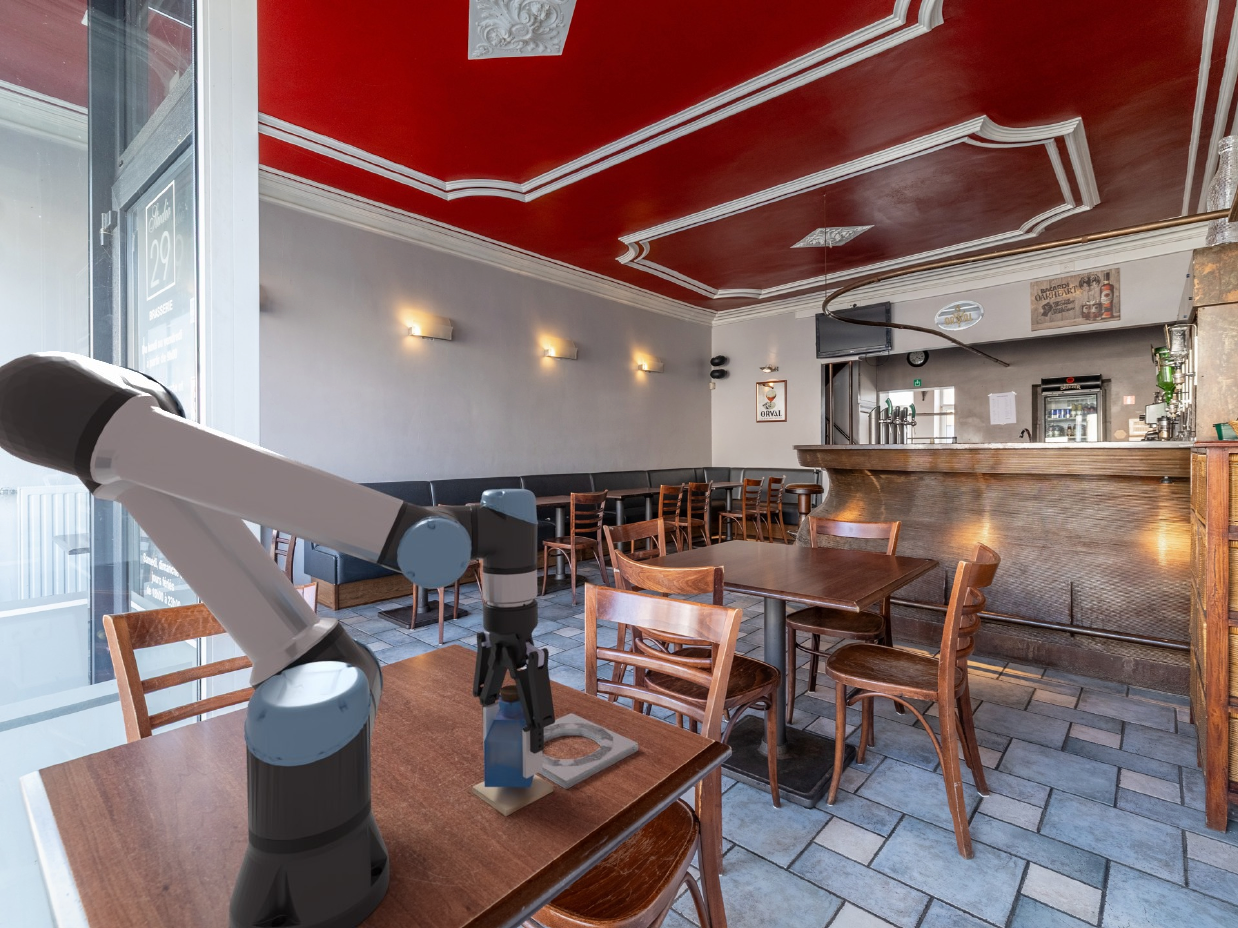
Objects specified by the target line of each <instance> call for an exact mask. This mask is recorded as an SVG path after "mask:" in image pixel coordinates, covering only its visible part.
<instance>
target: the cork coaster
mask: <svg viewBox="0 0 1238 928" xmlns="http://www.w3.org/2000/svg"><path fill="white" fill-rule="evenodd" d="M471 789H472V790H471V791H472V794H474V795H475V796H477V797H478V798H480V799H481V800H483V802H485V803H486V804H488V805H489V806H490V807H492V808H494V809H495V810H497V811H498V812H499V813H501V814H502V815H503V816H505V817H508V816H509V815H511V814H513V813H514V812H517V811H518V810H520V809H523V808H524V807H526V806H528V805H531V804H532V803H534V802H535V801H538V800H539V799H542V798H543V797H545V796H547V795H549V794H550V793H553V792H554V785H553V784H552V783H550V782H549V781H547V780H545V779H543V778H542V777H540V776H539V775H537V774H535V775H534V777H533V780H532V784H531V787H485V781H482V782H479V783H477V784H475V785H473V786H472V788H471Z"/></svg>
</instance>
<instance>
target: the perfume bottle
mask: <svg viewBox="0 0 1238 928" xmlns="http://www.w3.org/2000/svg"><path fill="white" fill-rule="evenodd" d="M500 695H501V697H499V700H498V702H499V707H500V709H499V711H498V713H497V715H496V717H495V719H494V721H493V723H492V725H491V727H490V729H489V732H488V734H487V736H486V738H485V741H484V748H483V754H484V755H483V756H484V757H483V761H484V763H483V766H484V767H483V768H484V774H483V775H484V776H483V777H484V781H485V787H531V784H532V780H533V777H534V775H533V776H530V777H528V778H525V777H523V730H522V728H524V727H526V726H527V725H526V721H525V717H524V713H523V710H522V706H521V702H520V698H519V695H518V691H517V687H516V684H510V685H505V686H502V688H501V689H500ZM533 719H534V717H533Z"/></svg>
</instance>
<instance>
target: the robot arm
mask: <svg viewBox="0 0 1238 928" xmlns="http://www.w3.org/2000/svg"><path fill="white" fill-rule="evenodd" d="M0 449H2V450H3V451H6V452H7V453H8V454H10V455H11V456H13V457H15V458H18V459H20V460H22V461H24V462H28V463H30V464H33V465H36V466H40V467H44V468H48V469H52V470H55V471H59V472H62V473H66V474H69V475H71V476H76V477H77V478H78V479H79V480H80V482H82V484H83V485H84V487H86V489H87V490H88V492H90V493H91V495H92V496H93V497H94V498H95V499H98V500H99V499H100V500H106V501H112V502H116V503H119V504H121V505H122V506H123V507H124V509H125V510H126V511H127V513H129V515H130V516H131V517H132V519H134V521H135V522H136V523H137V525H138V526H139V527H140V528H141V529H142V531H143V532H144V533H145V534H146V535H147V536H148V538H149V539H150V540H151V542H152V543H153V544H154V546H156V548H157V549H158V550H159V551H160V552H161V554H162V555H163V556H164V558H165V559H166V560H167V561H168V562H169V564H171V566H172V567H173V569H175V571H176V572H177V573H178V575H179V576H180V577H181V578H182V579H183V580H184V582H185V583H186V584H187V586H188V587H189V588H190V589H191V590H192V591H193V593H194V594H195V595H196V596H197V598H198V599H199V600H200V601H201V603H203V604H204V606H205V607H206V609H207V610H208V611H209V612H210V614H211V615H213V617H214V618H215V619H216V621H217V622H218V623H219V624H220V625H221V627H222V628H223V629H224V630H225V632H226V633H227V634H228V636H230V638H231V639H232V640H233V641H234V642H235V644H236V645H237V646H238V648H239V649H240V650H241V651H242V652H243V654H245V656H246V657H247V658H248V660H249V661H250V662H251V665H252V667H251V672H250V678H249V682H248V683H249V685H250V686H251V687H252V689H254V692H253V693H252V694H251V696H250V698H249V700H248V704H247V707H246V717H245V720H244V725H243V730H244V738H243V739H244V740H245V744H246V745H245V748H246V753H245V754H246V785H247V786H246V788H247V789H246V791H247V793H246V795H247V797H246V798H247V826H248V827H247V829H248V842H247V847H246V850H245V853H244V856H243V858H242V863H241V865H240V868H239V871H238V875H237V877H236V880H235V883H234V887H233V890H232V893H231V897H230V898H229V899H230V900H229V905H228V916H229V917H228V923H229V924H228V925H229V926H228V927H229V928H356V927H357V926H358V925H360V924H361V923H362V922H363V921H364V920H365V919H367V918H368V917H369V916H370V915H371V914H372V913H373V912H374V911H375V910H376V909H377V907H379V905H380V904H381V902H382V900H383V899H384V897H385V895H386V894H387V891H388V888H389V884H390V876H391V875H390V873H391V872H390V856H389V851H388V849H387V846H386V844H385V840H384V839H383V838H384V837H382V833H381V831H380V828H379V826H378V823H377V821H376V819H375V815H374V813H373V810H372V759H371V758H372V756H371V755H372V753H371V749H372V747H371V746H372V737H373V730H374V726H375V722H376V721H375V720H376V716H377V713H378V709H379V704H380V701H381V699H382V693H383V689H384V675H383V671H382V666H381V663H380V660H379V658H378V656H377V654H376V653H375V652H374V651H373V650H372V648H371V647H370V646H369V645H367V643H365V642H363V641H361V640H359V639H357V638H354V637H351V635H350V634H349V633H348V632H347V630H346V629H345V628H344V627H343V625H342V624H341V623H340V621H339V620H338V619H337V618H331V617H321V616H319V615H318V614H317V613H316V612H315V611H314V610H313V607H311V606H310V604H309V603H308V602H307V601H306V599H305V598H304V597H303V595H302V594H301V593H300V591H299V590H298V589H297V588H296V587H295V585H294V584H293V583H292V581H291V580H290V579H289V578H288V577H287V575H286V574H285V572H284V571H283V570H282V569H281V568H280V566H279V565H278V564H277V562H276V561H275V560H274V559H273V557H272V556H271V555H270V553H269V552H268V551H267V550H266V548H265V547H264V545H263V544H262V543H261V542H260V541H259V539H258V538H257V537H256V535H255V534H254V533H253V531H252V530H251V529H250V528H249V526H248V525H247V524H246V523H245V521H247V522H249V523H253V524H255V525H258V526H261V527H264V528H268V529H271V530H274V531H276V532H279V533H283V534H285V535H289V536H291V537H295V538H298V539H301V540H303V541H307V542H310V543H313V544H316V545H319V546H322V547H324V548H327V549H331V550H335V551H337V552H340V553H342V554H346V555H349V556H352V557H354V558H355V557H356V558H358V559H361V560H363V561H367V562H369V563H373V564H375V565H378V566H381V567H383V568H385V569H388V570H392V571H395V572H397V573H401V574H403V576H404V577H406V579H408V580H409V581H410V582H411V583H413V584H414V585H416V586H418V587H419V588H420V587H421V588H423V589H431V590H433V589H434V590H435V589H440V588H445V587H447V586H450V585H452V584H454V583H455V582H456V581H458V580H459V579H460V578H461V577H462V576H463V575H464V574H465V572H466V571H467V568H468V567H469V564H470V561H476V560H482V600H484V601H485V602H484V603H483V606H482V624H483V625H482V627H483V629H484V631H479V632H477V633H476V644H477V646H476V647H477V651H476V659H475V669H474V676H473V685H472V686H473V687H472V695H473V697H474V698H478V699H479V704H480V705H481V706H482V707H481V708H482V709H481V710H482V726H483V728H482V729H483V731H482V732H483V738H482V739H483V741H482V743H483V749H484V741H485V738H486V736H487V734H488V732H489V729H490V727H491V725H492V723H493V721H494V719H495V717H496V715H497V713H498V711H499V709H500V707H499V698H500V697H501V694H500V689H501V688H502V687H503V684H504V681H505V678H506V675H507V672H508V673H509V677H510V678H511V679H513V680H514V682H515V685H516V687H517V691H518V695H519V698H520V702H521V706H522V710H523V713H524V717H525V721H526V725H527V726H526V727H524V728H522V730H523V777H525V778H528V777H530V776H533V775H537V774H539V772H541V771H542V754H543V750H544V748H545V743H544V727H547V726H549V725H551V724H554V723H555V720H556V717H555V716H556V715H555V708H554V702H553V694H552V687H551V679H550V673H549V655H550V654H549V653H550V652H549V649H548V648H547V647H544V648H539V647H536V646H535V642H534V638H533V632H534V630H535V629H536V628H537V626H538V625H539V604H538V601H537V600H536V598H537V596H538V525H539V521H538V516H537V515H538V513H537V499H536V496H535V494H534V492H532V490H529V489H525V488H524V489H523V488H500V489H496V488H495V489H487V490H484V491H483V492H482V495H481V499H480V503H477V504H470V505H429V506H428V505H427V506H424V505H423V506H422V505H421V506H420V505H416V504H414V503H411V502H408V501H404V500H403V499H400V498H397V497H395V496H392V495H390V494H386V493H384V492H381V491H379V490H377V489H373V488H370V487H368V486H365V485H362V484H360V483H357V482H354V481H351V480H349V479H346V478H344V477H340V476H339V475H335V474H332V473H331V472H328V471H325V470H322V469H320V468H318V467H315V466H312V465H309V464H307V463H303V462H301V461H299V460H296V459H293V458H290V457H288V456H285V455H282V454H280V453H277V452H274V451H271V450H269V449H267V448H263V447H261V446H258V445H255V444H253V443H250V442H247V441H245V440H242V439H239V438H237V437H234V436H232V435H229V434H226V433H223V432H221V431H219V430H216V429H212V428H210V427H207V426H205V425H202V424H199V423H197V422H195V421H194V422H193V421H191V420H189V419H187V417H186V411H185V409H184V406H183V405H182V402H181V401H180V400H179V398H178V397H177V396H176V394H175V393H174V392H173V391H172V390H171V389H170V388H169V387H167V386H166V385H165V384H164V383H163V382H161V381H159V380H158V379H156V378H155V377H152V376H150V375H148V373H147V374H146V373H145V372H142V371H140V370H137V369H134V368H131V367H126V366H120V365H113V364H109V363H107V362H104V361H100V360H97V359H93V358H90V357H86V356H85V355H80V354H77V353H76V354H75V353H73V352H72V353H71V352H61V351H46V352H35V353H30V354H26V355H22V356H20V357H17V358H14V359H12V360H11V361H8V362H7V363H4V364H3V365H1V366H0ZM525 666H526V668H524V667H525ZM522 668H523V669H522ZM519 669H520V670H519ZM533 717H534V719H533Z"/></svg>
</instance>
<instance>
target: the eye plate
mask: <svg viewBox="0 0 1238 928" xmlns="http://www.w3.org/2000/svg"><path fill="white" fill-rule="evenodd" d="M565 736H567V737H574V736H579V737H583V738H587V739H590V740H592V741H594V742H596V744H598V745H599V747H598V748H597V749H596V750H595V751H594V752H592V753H590V754H587V755H585V756H581V757H578V758H568V759H567V758H565V759H564V758H560V759H559V758H555V757H552V756H549V755H546V754H544V753H542V771H541V772H539V773H538V774H539V775H541V776H542V777H545V778H547V779H548V780H550V781H551V782H553V783H555V784H556V785H558V786H560V787H561V788H563V789H565V790H567V789H569V788H571V787H573V786H575V785H577V784H579V783H581V782H583V781H585V780H586V779H588V778H590V777H591V776H594V775H596V774H598V773H599V772H601V771H602V770H605V769H607V768H608V767H611V766H613V765H614V764H616V763H618V762H620V761H622V760H623V759H625V758H627V757H629V756H631V755H633V754H635V753H637V752H638V751H639V743H638V742H637V741H635V740H632V739H630V738H628V737H625V736H623V735H622V734H618V733H616V732H615V731H613V730H609V729H608V728H605V727H603V726H601V725H599V724H596V723H594V722H593V721H590V720H587V719H585V718H584V717H582V716H578V715H577V714H575V713H572V712H571V713H569V714H566V715H564V716H561V717H559V718H557V719H556V718H555V723H554V724H551V725H549V726H547V727H544V744H545V743H546V742H548V741H551V740H553V739H557V738H561V737H565Z"/></svg>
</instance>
